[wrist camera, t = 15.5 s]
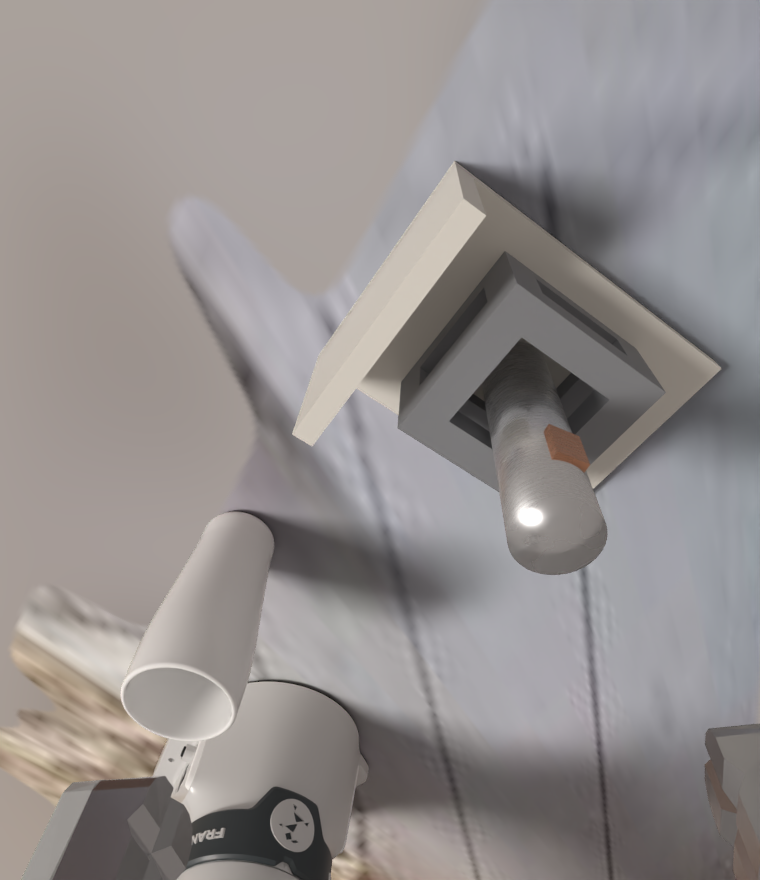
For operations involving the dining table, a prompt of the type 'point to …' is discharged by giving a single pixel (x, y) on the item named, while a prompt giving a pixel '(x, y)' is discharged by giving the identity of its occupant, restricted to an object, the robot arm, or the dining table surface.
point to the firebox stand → (499, 336)
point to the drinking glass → (203, 635)
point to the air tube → (540, 468)
